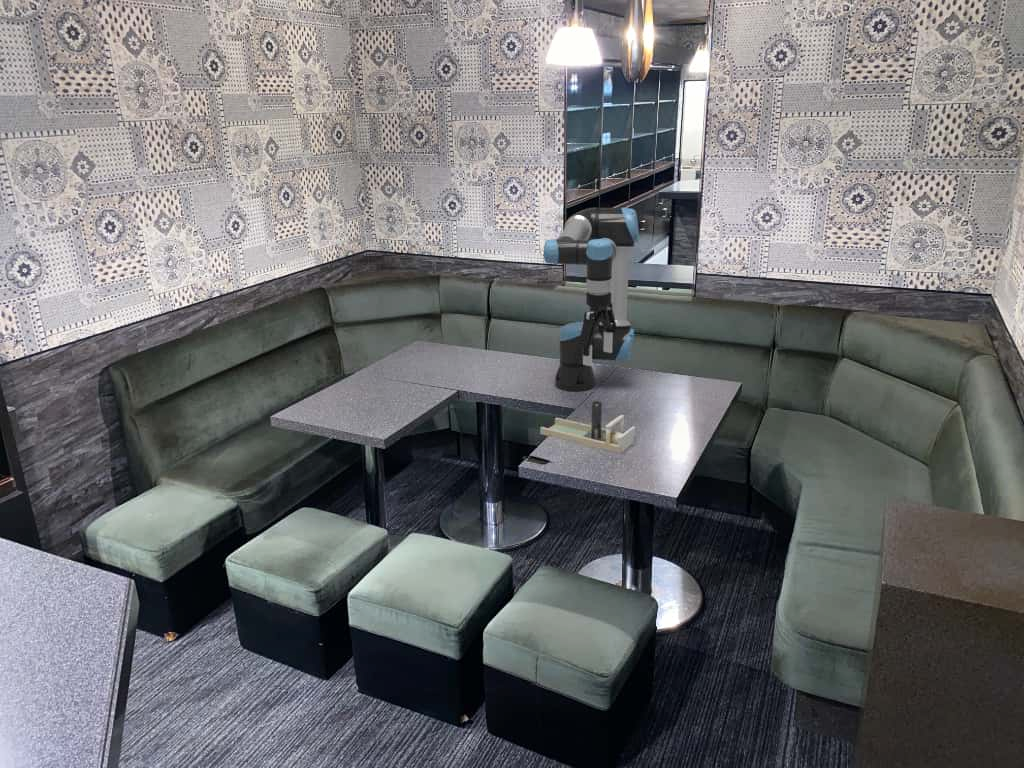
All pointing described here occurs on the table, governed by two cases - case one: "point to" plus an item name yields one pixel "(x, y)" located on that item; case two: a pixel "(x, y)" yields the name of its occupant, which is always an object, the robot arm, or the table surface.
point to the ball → (616, 438)
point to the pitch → (578, 430)
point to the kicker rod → (597, 424)
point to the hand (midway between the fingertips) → (597, 358)
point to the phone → (535, 459)
